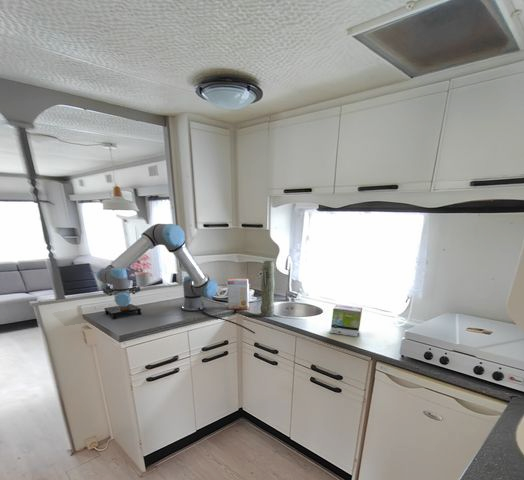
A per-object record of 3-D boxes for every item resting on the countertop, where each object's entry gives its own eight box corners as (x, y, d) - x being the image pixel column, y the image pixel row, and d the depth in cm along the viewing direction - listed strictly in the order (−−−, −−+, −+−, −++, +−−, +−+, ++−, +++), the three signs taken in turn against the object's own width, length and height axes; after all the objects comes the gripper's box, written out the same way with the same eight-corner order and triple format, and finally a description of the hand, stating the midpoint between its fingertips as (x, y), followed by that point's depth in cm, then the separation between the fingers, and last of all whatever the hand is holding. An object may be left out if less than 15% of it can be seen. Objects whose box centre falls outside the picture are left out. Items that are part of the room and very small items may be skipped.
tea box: (330, 333, 184) (332, 308, 178) (333, 328, 193) (335, 304, 187) (357, 337, 179) (360, 311, 174) (359, 331, 188) (362, 306, 182)
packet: (130, 309, 210) (127, 289, 205) (120, 310, 208) (117, 290, 203) (129, 306, 217) (126, 287, 212) (120, 307, 215) (117, 287, 210)
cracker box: (248, 307, 234) (248, 278, 226) (247, 310, 228) (247, 280, 220) (229, 307, 235) (229, 278, 227) (228, 309, 229) (227, 279, 222)
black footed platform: (141, 314, 215) (140, 308, 214) (113, 319, 204) (112, 313, 202) (132, 309, 226) (131, 303, 225) (105, 313, 215) (104, 307, 213)
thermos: (276, 313, 222) (277, 260, 208) (271, 317, 211) (272, 262, 198) (263, 312, 224) (264, 259, 211) (258, 316, 214) (258, 262, 200)
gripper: (98, 302, 177) (100, 294, 195) (146, 299, 186) (143, 292, 204) (96, 289, 174) (98, 282, 192) (145, 286, 183) (142, 280, 202)
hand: (121, 287), depth 198 cm, fingers open, 13 cm apart
